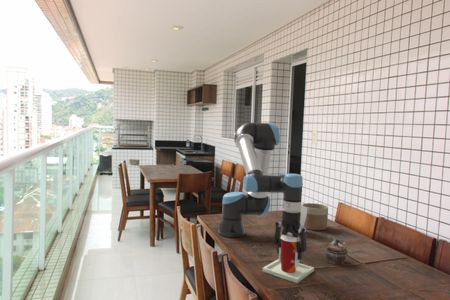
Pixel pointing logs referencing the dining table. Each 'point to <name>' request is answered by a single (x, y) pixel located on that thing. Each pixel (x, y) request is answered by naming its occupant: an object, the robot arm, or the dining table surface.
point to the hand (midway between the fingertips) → (288, 264)
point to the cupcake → (336, 252)
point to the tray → (295, 277)
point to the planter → (316, 216)
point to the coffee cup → (288, 252)
